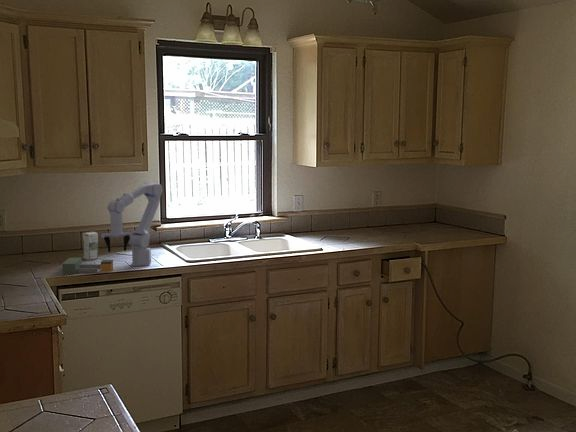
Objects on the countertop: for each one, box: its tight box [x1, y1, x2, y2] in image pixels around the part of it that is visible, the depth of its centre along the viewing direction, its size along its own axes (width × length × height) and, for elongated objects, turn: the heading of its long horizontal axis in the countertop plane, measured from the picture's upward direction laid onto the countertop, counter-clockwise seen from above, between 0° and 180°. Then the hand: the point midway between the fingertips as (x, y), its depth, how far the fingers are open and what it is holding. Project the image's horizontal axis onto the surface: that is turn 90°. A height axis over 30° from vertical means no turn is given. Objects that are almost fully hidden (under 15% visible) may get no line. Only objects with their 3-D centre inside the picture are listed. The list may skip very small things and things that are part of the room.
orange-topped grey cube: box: [100, 259, 114, 272], centre depth 306 cm, size 5×5×5 cm
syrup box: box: [82, 231, 99, 261], centre depth 331 cm, size 6×6×14 cm
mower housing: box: [61, 257, 101, 275], centre depth 305 cm, size 16×14×5 cm
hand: (117, 251), depth 307 cm, fingers open, 7 cm apart
